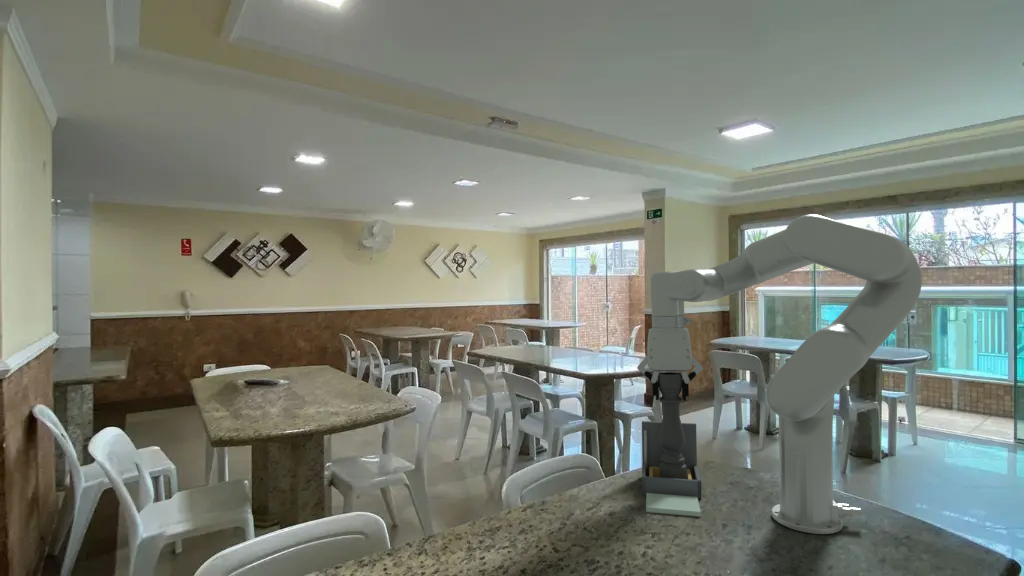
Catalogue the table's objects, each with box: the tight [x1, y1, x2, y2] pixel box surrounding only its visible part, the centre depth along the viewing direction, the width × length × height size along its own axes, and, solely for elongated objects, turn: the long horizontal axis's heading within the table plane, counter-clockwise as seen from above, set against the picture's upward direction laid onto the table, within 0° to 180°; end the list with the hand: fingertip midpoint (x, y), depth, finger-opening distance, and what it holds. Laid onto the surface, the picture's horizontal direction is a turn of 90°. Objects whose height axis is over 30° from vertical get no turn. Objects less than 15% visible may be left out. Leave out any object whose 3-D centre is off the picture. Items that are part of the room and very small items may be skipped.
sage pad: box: [645, 493, 702, 518], centre depth 116 cm, size 11×8×1 cm
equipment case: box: [641, 420, 702, 500], centre depth 127 cm, size 13×12×14 cm
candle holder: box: [657, 371, 687, 479], centre depth 126 cm, size 6×6×25 cm
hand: (670, 398), depth 126 cm, fingers closed on candle holder, 5 cm apart
